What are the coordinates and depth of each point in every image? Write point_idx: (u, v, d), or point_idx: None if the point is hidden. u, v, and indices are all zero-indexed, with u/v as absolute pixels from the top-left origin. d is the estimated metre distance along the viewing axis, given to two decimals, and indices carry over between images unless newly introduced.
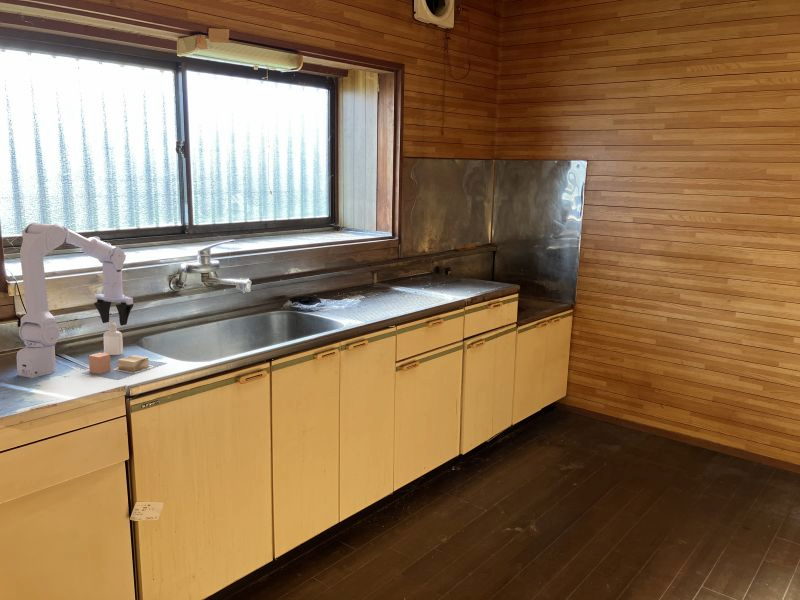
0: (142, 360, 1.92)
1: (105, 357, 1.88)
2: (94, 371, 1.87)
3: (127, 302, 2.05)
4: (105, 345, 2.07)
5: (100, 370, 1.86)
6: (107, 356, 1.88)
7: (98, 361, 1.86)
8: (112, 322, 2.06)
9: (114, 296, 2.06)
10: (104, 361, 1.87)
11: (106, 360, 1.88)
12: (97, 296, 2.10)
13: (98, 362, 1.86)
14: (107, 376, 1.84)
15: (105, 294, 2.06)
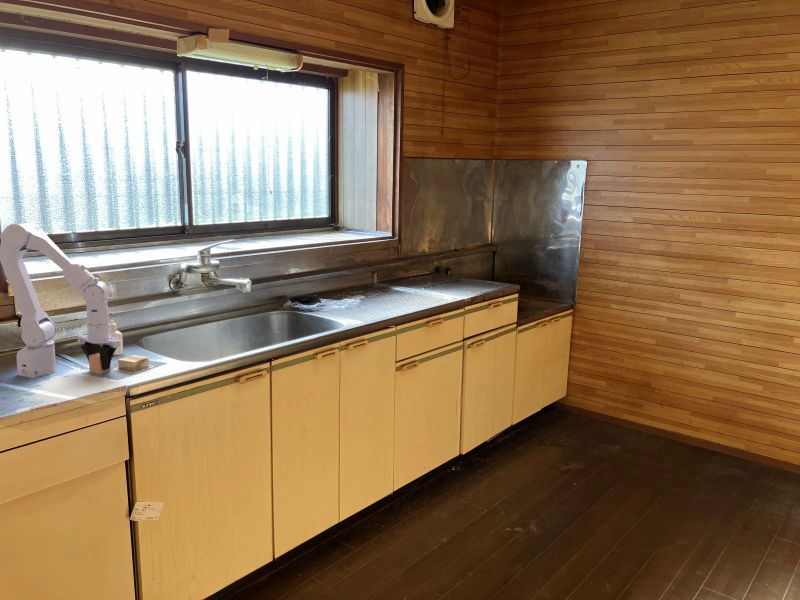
0: (142, 360, 1.92)
1: None
2: (94, 371, 1.87)
3: (114, 345, 1.84)
4: None
5: (100, 370, 1.86)
6: None
7: (98, 361, 1.86)
8: (112, 322, 2.06)
9: (99, 338, 1.85)
10: None
11: None
12: (80, 338, 1.88)
13: (98, 362, 1.86)
14: (107, 376, 1.84)
15: (89, 336, 1.84)
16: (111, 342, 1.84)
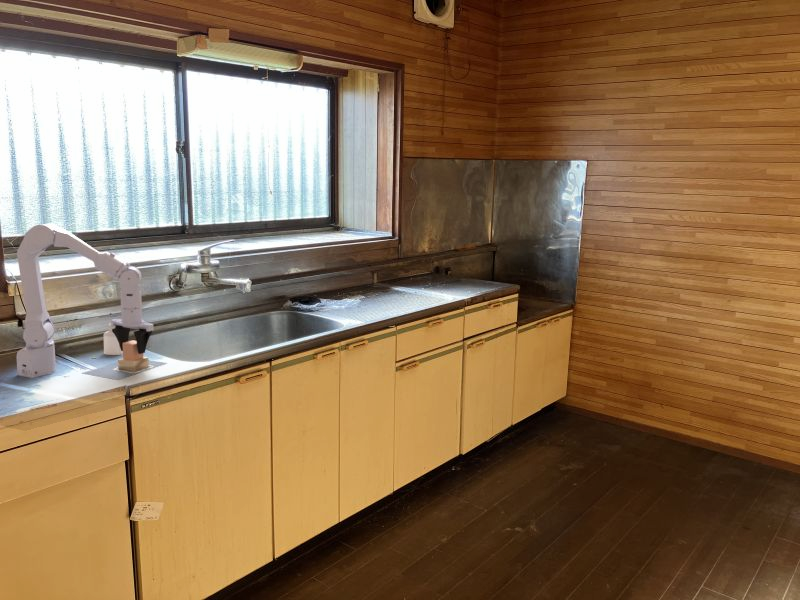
0: (142, 360, 1.92)
1: None
2: (128, 358, 1.91)
3: (147, 329, 1.87)
4: (105, 345, 2.07)
5: (134, 358, 1.90)
6: None
7: (132, 348, 1.90)
8: None
9: (133, 322, 1.88)
10: None
11: None
12: (114, 322, 1.92)
13: (132, 350, 1.90)
14: (107, 376, 1.84)
15: (123, 320, 1.88)
16: (145, 326, 1.88)
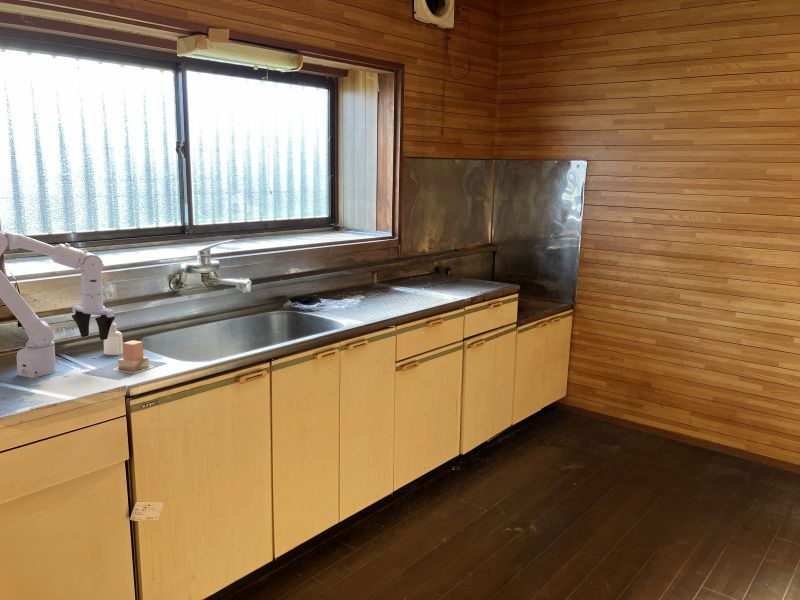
0: (142, 360, 1.92)
1: (138, 344, 1.91)
2: (128, 358, 1.91)
3: (107, 315, 1.88)
4: (105, 345, 2.07)
5: (134, 358, 1.90)
6: (140, 344, 1.92)
7: (132, 348, 1.90)
8: (112, 322, 2.06)
9: (93, 308, 1.89)
10: (137, 348, 1.91)
11: (139, 347, 1.92)
12: (75, 308, 1.92)
13: (132, 350, 1.90)
14: (107, 376, 1.84)
15: (83, 306, 1.89)
16: (105, 312, 1.88)
